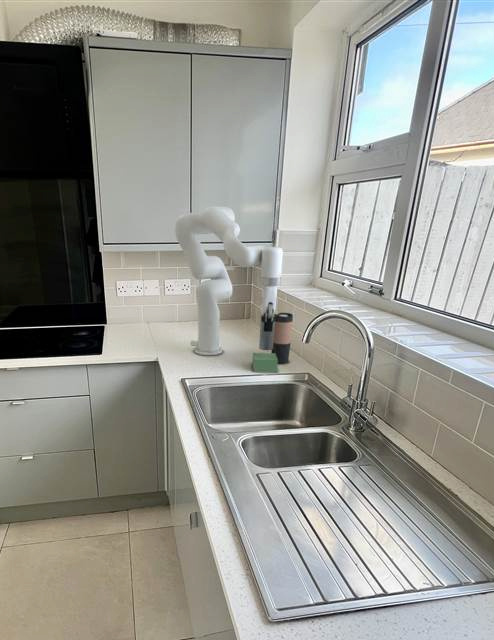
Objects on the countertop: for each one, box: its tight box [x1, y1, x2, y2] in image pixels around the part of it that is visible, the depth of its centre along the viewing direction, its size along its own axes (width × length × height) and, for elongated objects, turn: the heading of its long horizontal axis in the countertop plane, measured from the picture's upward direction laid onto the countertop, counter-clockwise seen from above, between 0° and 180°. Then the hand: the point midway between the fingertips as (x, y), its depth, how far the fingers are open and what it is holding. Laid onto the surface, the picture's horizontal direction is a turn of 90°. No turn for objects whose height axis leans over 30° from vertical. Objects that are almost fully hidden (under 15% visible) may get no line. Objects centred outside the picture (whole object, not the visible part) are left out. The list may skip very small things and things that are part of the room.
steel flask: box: [258, 314, 275, 351], centre depth 158 cm, size 5×5×13 cm
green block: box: [252, 352, 279, 373], centre depth 163 cm, size 9×9×5 cm
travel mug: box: [270, 312, 294, 365], centre depth 168 cm, size 8×8×20 cm
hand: (267, 329), depth 157 cm, fingers closed on steel flask, 5 cm apart
